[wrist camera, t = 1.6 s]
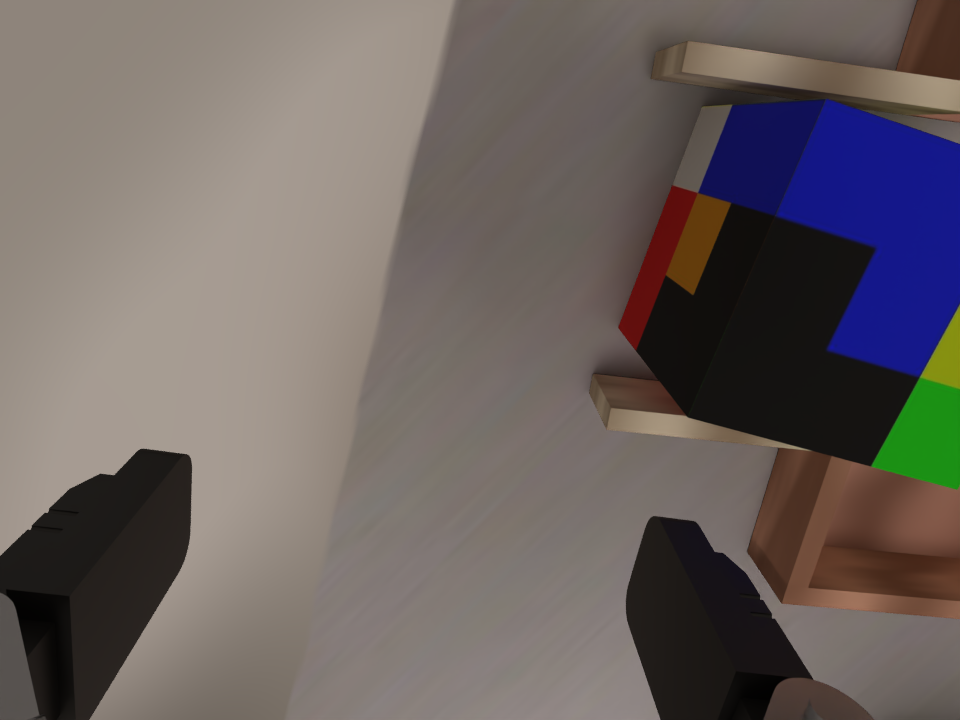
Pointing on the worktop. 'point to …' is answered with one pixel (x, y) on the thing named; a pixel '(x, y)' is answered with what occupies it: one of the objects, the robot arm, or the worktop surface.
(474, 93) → the worktop surface
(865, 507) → the open sectioned tray
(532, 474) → the worktop surface
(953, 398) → the puzzle toy
